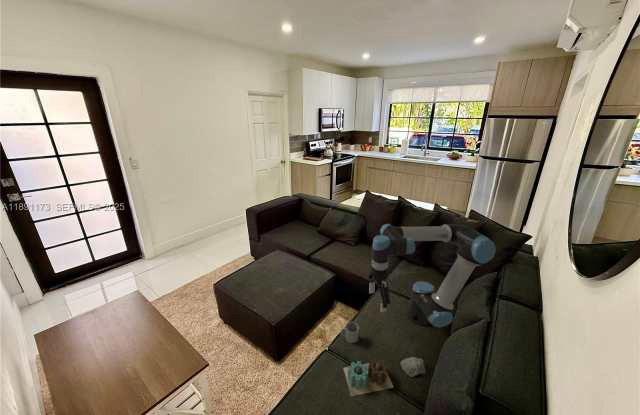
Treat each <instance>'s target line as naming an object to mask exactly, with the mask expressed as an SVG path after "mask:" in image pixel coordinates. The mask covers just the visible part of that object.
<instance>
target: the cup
mask: <svg viewBox="0 0 640 415" xmlns="http://www.w3.org/2000/svg"><path fill="white" fill-rule="evenodd" d="M339 332H340V333H339V334H340V335H341V337H342V338H344V339H345V341H346V343H347V344H354V343H357V342H358V341H359V334H360V333H359V332H360V326H359V324H358V323H357V322H354V321H349V322H346V323H345V326H344V327H342V328H341V329H340V331H339ZM344 332H345V333H344Z"/></svg>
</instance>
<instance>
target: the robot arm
mask: <svg viewBox="0 0 640 415" xmlns="http://www.w3.org/2000/svg"><path fill="white" fill-rule="evenodd" d="M379 232H380V234H379V235H378V234H377V235H376V236H374V238H372V239H373V242H372V250H371V251H372V257H371V267H370V271H369V274H368V276H367V279H368V282H369V286H368V287H369V288H368V289H369V290H368V291H369V292H368V294H374V293H375V290H376V285H377V288H378V289H379V294H380V297H381V301H380V313H386V312H387V309H388V305H389V304H391V300H390V292H389V283H388V282H385V278H386V277H387V275H388V271H389V270H388V269H389V268H388V267H389V258H390V257H394V256H405V255H410V254H414V252H415V251H416V243H415V242H425V241H426V242H431V241H433V242H436V241H437V242H438V241H442V242H444V243H451V244H454V245H456V246H457V247H458V249H457V251H456V255H457V257H456V259H455V261H454V263H453V265H452V267H451V268H450V269H449V271H448V273H447V274H446V276H445V278H444V280H443V281H442V283H441V285H440V286H439V288H438V289H437V291H436V289H435V286H434V285H433V284H431V283H429V282H428V281H427V282H426V281H416V282H414V284H413V286H412V290H411V291H412V292H411V296H410V302H409V304H408V305H407V306H406V309H405V315H406V318H407V319H408V320H409V321H410V322H412V323H413V324H415V325H417V326H428V325H429V324H431V326H433V327H435V328H443V327H446V326H449V325H450V324H451V323H452V322H453V321H454V315H453V314H452V312H453V310H454V308H455V307H454V304H453V303H454V302H455V300H456V298H457V297H458V295H459V293H460V292H461V290H462V289H463V288H464V285H465V284H466V283H467V281H468V279H469V277H470V276H471V275H472V273H473V271H474V269H475V268H476V267H478V266H481V265H483V264H486V263H487V264H488V262H490V261H491V260H492V259H493V258H494V257H495V254H496V246H495V242H493V240H491V239H489V238H488V237H487V236H485V235H484V234H482V233H480V232H479V231H477V230H475V229H474V228H472V227H471V226H468V225H462V224H450V223H446V224H445V223H444V224H442V225H441V226H437V225H436V226H435V225H434V226H432V225H431V226H394V225H392V224H390V223H386V224H382V226H381V228H380V231H379ZM435 291H436V292H435Z"/></svg>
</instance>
